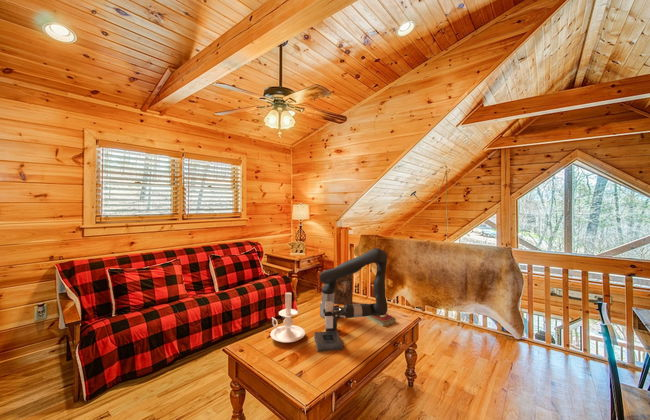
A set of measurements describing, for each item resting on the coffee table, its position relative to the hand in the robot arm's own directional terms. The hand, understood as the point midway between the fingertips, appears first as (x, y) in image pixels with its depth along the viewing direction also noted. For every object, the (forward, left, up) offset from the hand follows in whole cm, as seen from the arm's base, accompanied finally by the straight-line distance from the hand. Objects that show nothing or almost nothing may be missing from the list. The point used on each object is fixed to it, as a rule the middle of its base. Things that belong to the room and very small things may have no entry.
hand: (324, 312), depth 156 cm
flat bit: (-6, +17, -19) cm, 26 cm away
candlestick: (-23, -7, -19) cm, 31 cm away
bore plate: (+2, +2, -19) cm, 19 cm away
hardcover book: (+11, +51, -19) cm, 56 cm away
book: (-25, +61, -19) cm, 69 cm away
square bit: (+2, +2, -8) cm, 9 cm away
